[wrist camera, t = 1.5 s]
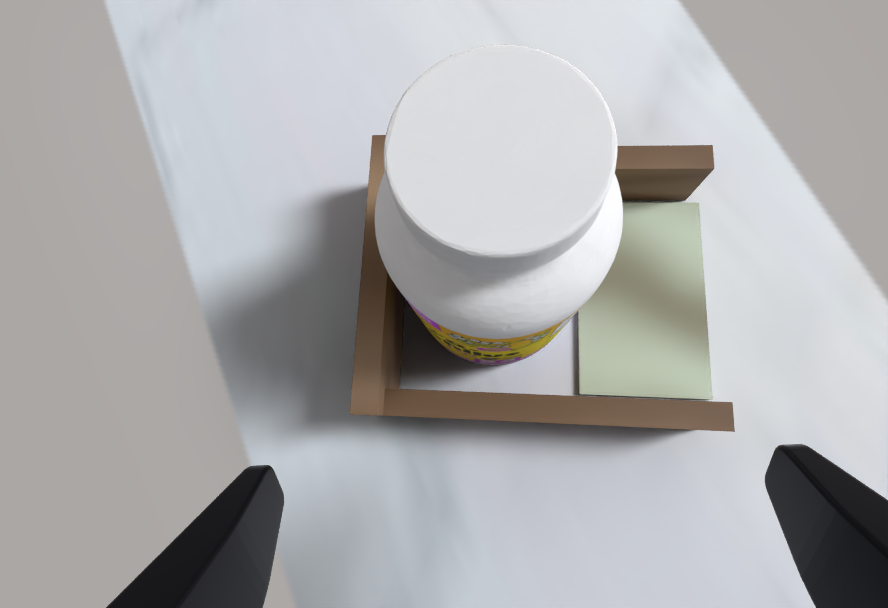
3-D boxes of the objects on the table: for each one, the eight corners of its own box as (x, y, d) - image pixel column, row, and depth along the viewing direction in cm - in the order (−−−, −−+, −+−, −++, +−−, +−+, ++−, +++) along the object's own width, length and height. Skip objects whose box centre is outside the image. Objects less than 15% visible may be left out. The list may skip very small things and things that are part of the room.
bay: (712, 429, 20) (764, 433, 16) (375, 413, 22) (349, 414, 18) (695, 179, 23) (737, 131, 19) (391, 180, 24) (372, 135, 20)
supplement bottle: (391, 314, 23) (266, 191, 10) (472, 198, 23) (449, -48, 11) (516, 398, 21) (552, 377, 9) (597, 272, 22) (736, 89, 10)
